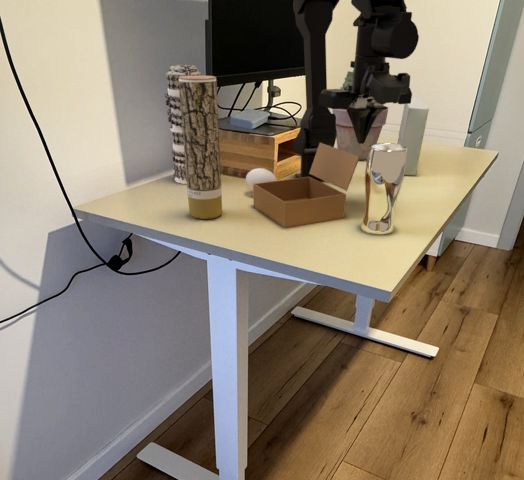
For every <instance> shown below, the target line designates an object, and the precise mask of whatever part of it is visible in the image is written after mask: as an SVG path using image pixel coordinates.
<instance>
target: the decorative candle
mask: <svg viewBox="0 0 524 480" xmlns="http://www.w3.org/2000/svg"><path fill="white" fill-rule="evenodd" d="M201 74H203V73H202V72H200V71H199V69H198V67H197V66H196V65H194V64H172V65H171V66H169V68H168V71H167V72H166V73H165V75H166V78H167V93H164V97H165V99H166V100H165V105H166V106H167V107H168V110H166V112H167V115H168V118H167V122H168V123H170V124H171V125H170V126H169V130H170V132H172V149H173V150H171V154H172V155H173V157H172V161H173V162H174V164H173V167H172V168H173V170H174V172H173V176H174V182H176V183H178V184H183V185H187V179H186V167H185V155H184V143H183V130H182V118H181V106H180V94H179V82H178V80H179V78H178V77H181V76H201Z"/></svg>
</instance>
